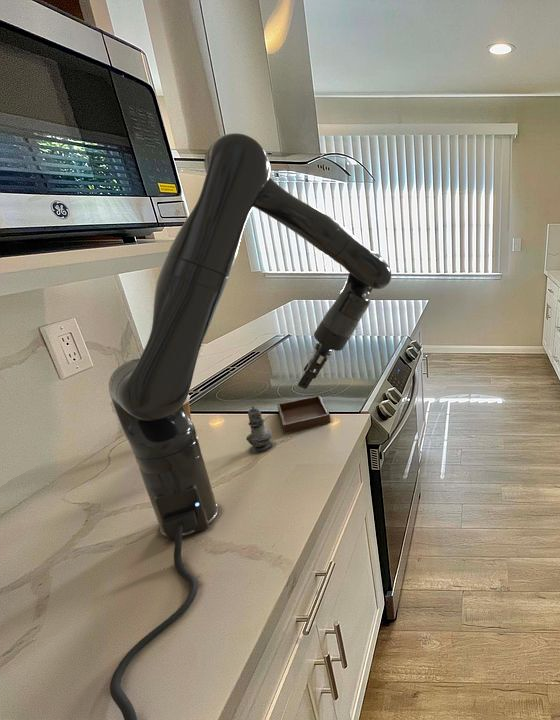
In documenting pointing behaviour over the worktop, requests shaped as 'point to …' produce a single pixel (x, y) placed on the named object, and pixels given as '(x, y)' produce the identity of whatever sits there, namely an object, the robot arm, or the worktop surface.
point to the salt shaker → (258, 432)
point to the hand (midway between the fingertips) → (304, 379)
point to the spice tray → (303, 414)
